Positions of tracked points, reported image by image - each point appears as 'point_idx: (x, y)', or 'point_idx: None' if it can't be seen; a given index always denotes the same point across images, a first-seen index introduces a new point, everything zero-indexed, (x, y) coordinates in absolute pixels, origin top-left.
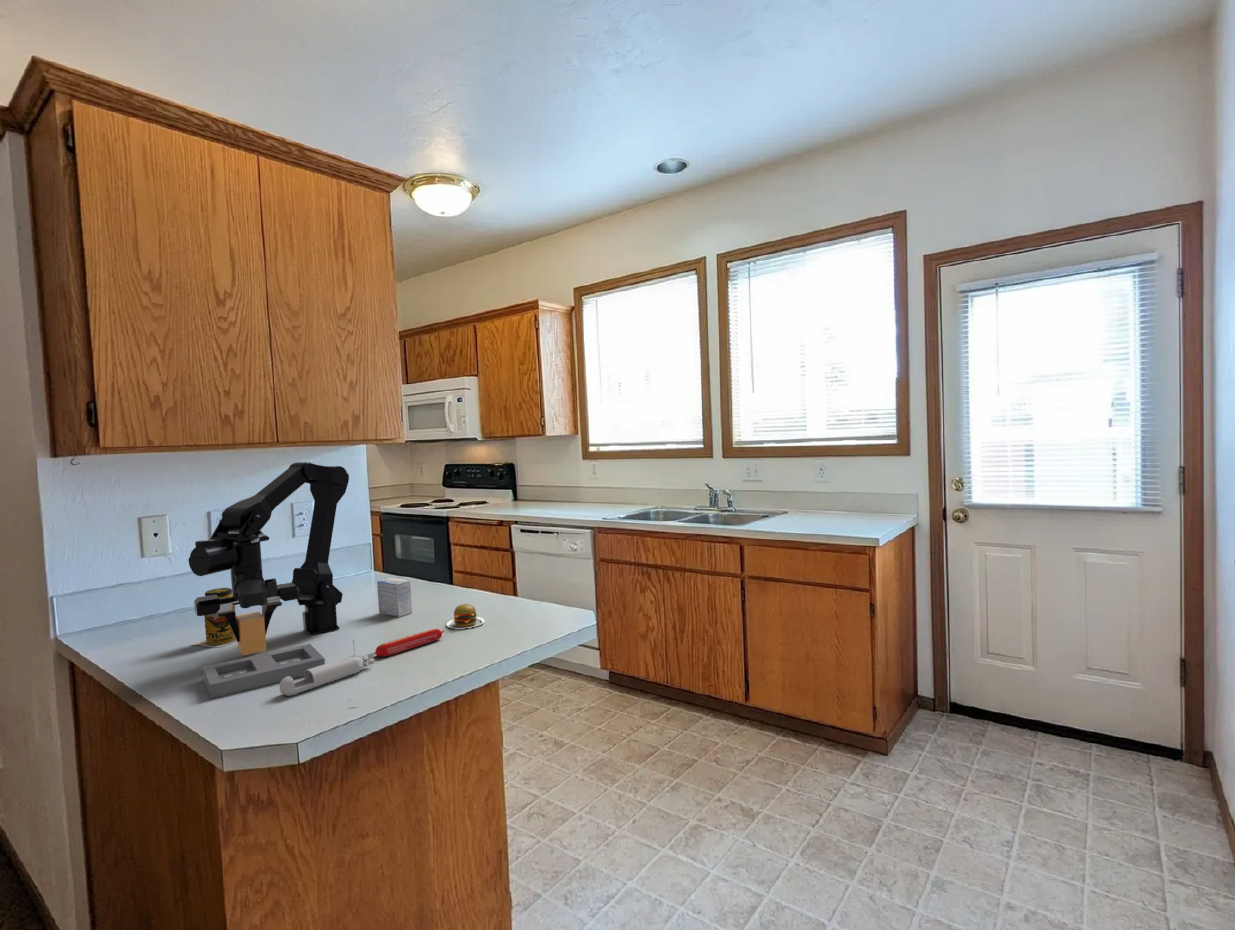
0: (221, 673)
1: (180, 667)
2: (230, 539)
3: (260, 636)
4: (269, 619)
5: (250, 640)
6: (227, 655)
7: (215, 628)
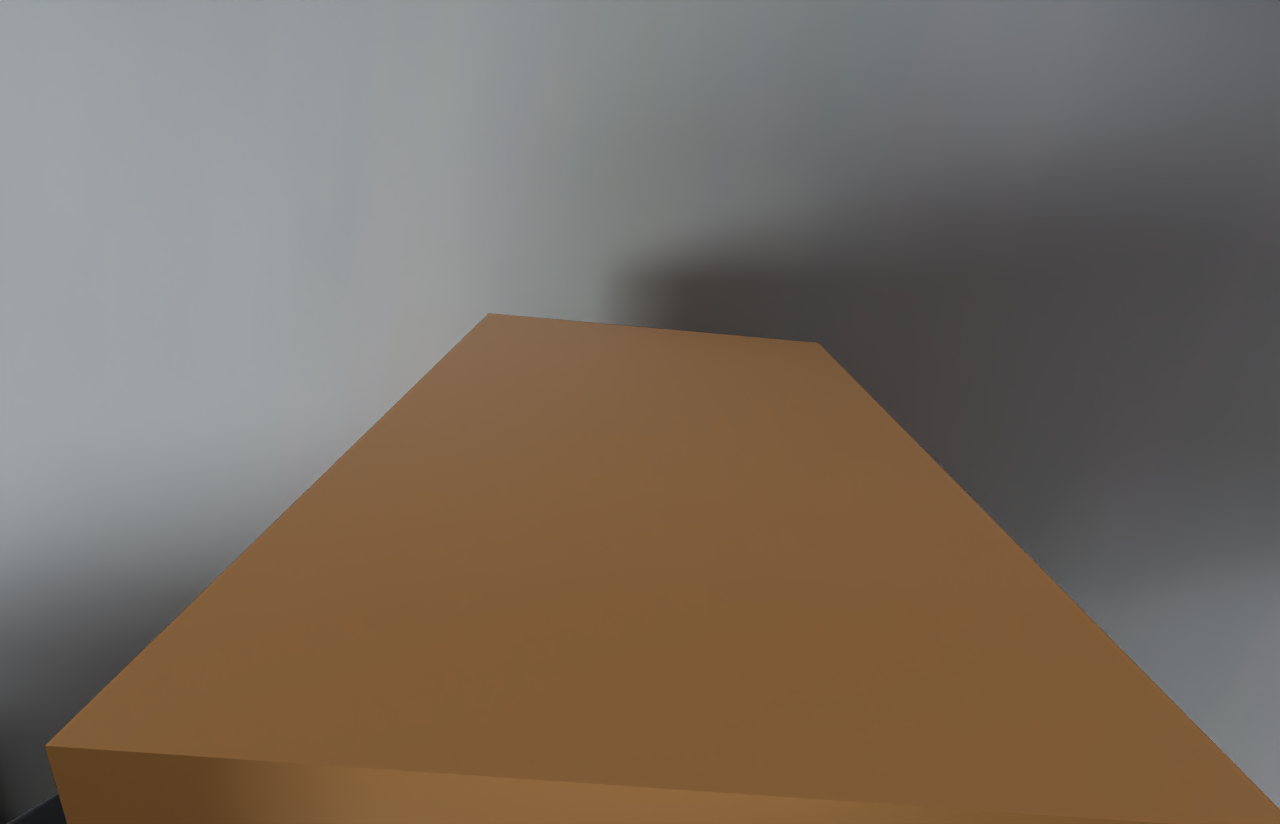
0: None
1: (1247, 694)
2: None
3: (515, 398)
4: (57, 814)
5: (717, 402)
6: None
7: None
